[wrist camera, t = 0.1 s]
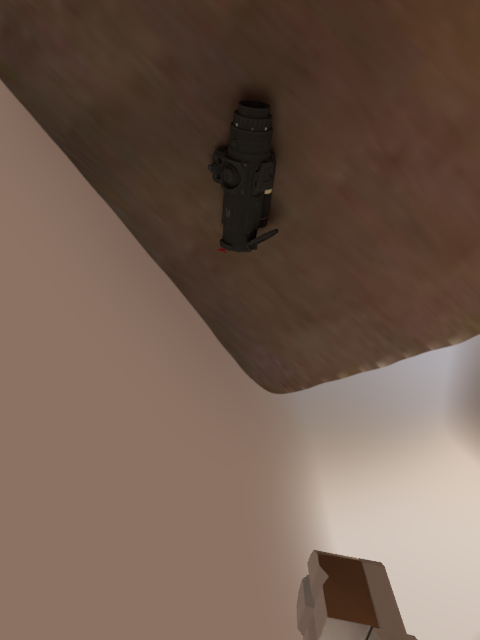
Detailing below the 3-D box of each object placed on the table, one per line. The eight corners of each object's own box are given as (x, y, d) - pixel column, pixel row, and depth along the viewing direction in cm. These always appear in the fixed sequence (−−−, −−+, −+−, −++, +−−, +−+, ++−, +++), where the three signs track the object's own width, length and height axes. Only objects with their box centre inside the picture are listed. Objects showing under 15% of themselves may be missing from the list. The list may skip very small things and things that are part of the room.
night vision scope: (254, 91, 54) (319, 113, 48) (239, 226, 65) (291, 256, 59) (203, 96, 49) (270, 121, 44) (196, 241, 60) (249, 275, 55)
